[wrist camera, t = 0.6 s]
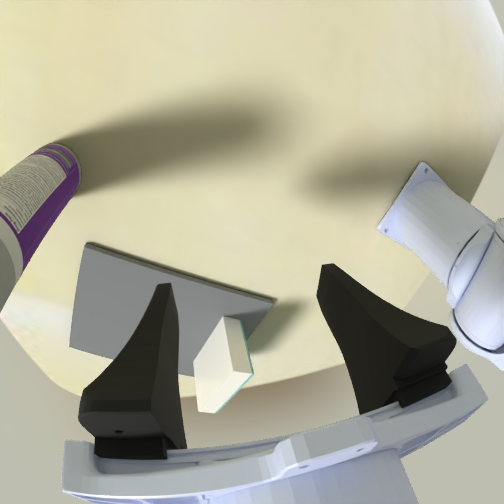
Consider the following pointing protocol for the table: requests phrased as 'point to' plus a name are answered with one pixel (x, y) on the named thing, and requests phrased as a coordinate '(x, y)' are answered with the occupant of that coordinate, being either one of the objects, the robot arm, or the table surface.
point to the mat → (137, 300)
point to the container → (32, 207)
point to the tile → (222, 366)
